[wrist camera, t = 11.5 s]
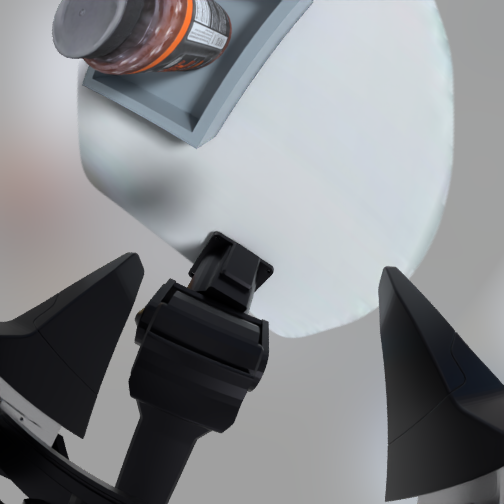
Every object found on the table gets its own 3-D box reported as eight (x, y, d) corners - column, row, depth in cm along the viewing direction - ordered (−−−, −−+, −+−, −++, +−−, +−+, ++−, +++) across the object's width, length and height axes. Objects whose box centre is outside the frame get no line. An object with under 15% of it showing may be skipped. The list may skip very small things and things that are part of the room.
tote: (215, 136, 20) (196, 149, 16) (112, 79, 18) (82, 84, 14) (312, 2, 12) (313, -15, 9) (187, -46, 10) (164, -63, 7)
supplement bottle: (159, 77, 16) (39, 100, 7) (155, 10, 13) (38, -9, 4) (237, 66, 15) (150, 57, 6) (233, -6, 12) (150, -73, 3)
